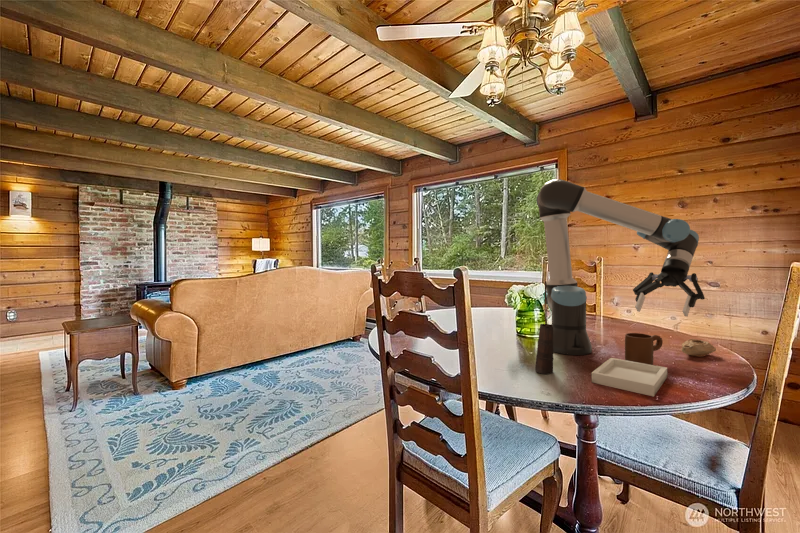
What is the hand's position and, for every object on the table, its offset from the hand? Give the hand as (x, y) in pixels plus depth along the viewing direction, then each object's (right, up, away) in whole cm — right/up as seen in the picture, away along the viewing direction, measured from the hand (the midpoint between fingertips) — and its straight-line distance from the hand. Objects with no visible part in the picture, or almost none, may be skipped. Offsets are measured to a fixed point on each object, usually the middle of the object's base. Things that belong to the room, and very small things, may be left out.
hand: (660, 311), depth 118 cm
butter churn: (-43, -18, -11) cm, 48 cm away
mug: (-9, -16, -5) cm, 19 cm away
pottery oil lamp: (+13, -16, +2) cm, 21 cm away
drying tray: (-22, -17, -18) cm, 34 cm away
